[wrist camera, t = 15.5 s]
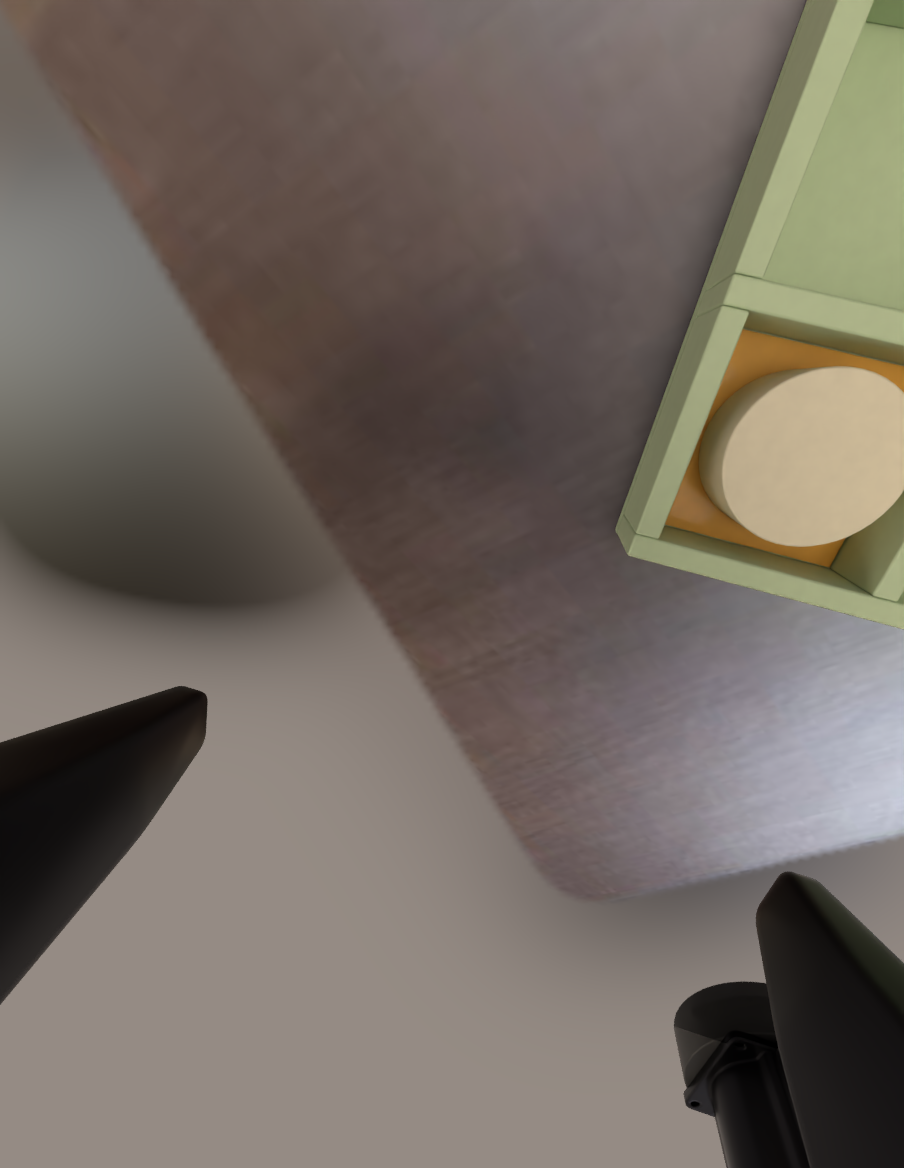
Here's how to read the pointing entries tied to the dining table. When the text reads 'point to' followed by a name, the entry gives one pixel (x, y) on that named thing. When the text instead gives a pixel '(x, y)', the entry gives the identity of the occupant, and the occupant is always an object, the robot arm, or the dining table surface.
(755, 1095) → the robot arm
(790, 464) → the cylinder
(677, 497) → the grid
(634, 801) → the dining table surface
